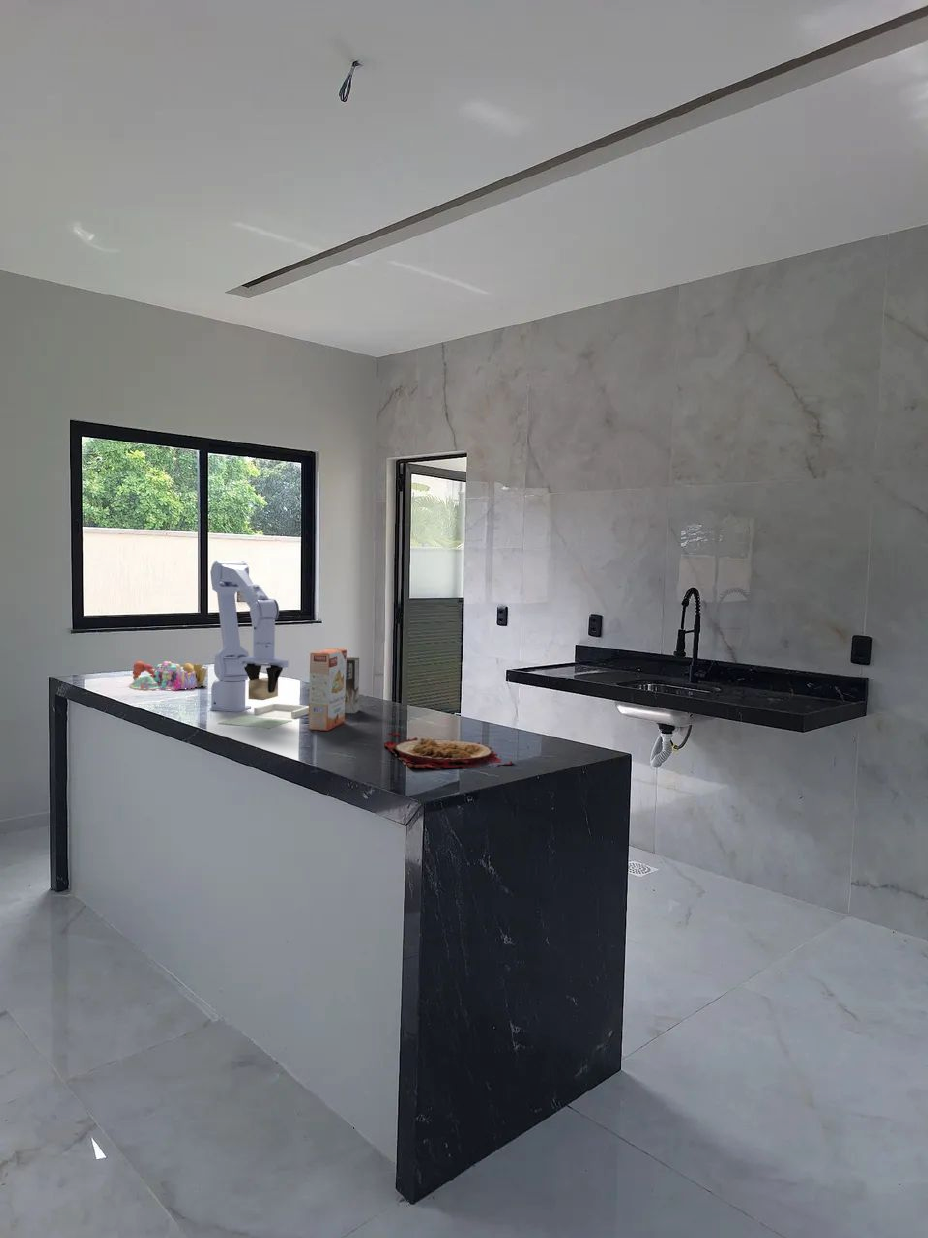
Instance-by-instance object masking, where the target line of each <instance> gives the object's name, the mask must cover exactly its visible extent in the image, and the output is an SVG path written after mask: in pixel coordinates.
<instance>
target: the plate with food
mask: <svg viewBox="0 0 928 1238" xmlns="http://www.w3.org/2000/svg"><path fill="white" fill-rule="evenodd" d="M387 736H393V737H395V739H396V740H397V739H398V737H400V738H399V739H400V740H401V739H402V738H401V737H403V734H398V733H392V732H391V733H389V732H388V733H387ZM403 740H405V741H401V742H398V743H396V742H395V741H394V740H392V741H391V740H390V741H388V740H387V741H386V742H385V741H383V740H382V744H383V745H384V748H387V752H390V753H393V754H394V756H395V757H398V755H397V753H396V752H398V753H399V757H398V760H399V761H401V762H402V763H403V765H405V766H408V767H409V768H416V769H421V770H424V769H425V770H426V769H429V768H432V769H434V770H440V769H441V770H442V768H444V769H445V768H446V769H447V768H449V769H453V768H462V769H466V767H467V768H477V766H480V765H485V764H486V765H487V764H491V763H492V764H493V765H488V767H489V768H490V767H494V764H497V763H498V764H497V765H496V767H498V766H500V764H499V763H502V761H501V759H500V758H502V755H499V757H500V758H498V757H497V756H498V753H495V752H494V750H492V749H493V748H492V747H490V746H487V745H485V744H481V743H480V742H472V741H467V740H466V741H463V740H458V739H457V740H456V739H455V740H454V739H441V738H439V739H437V738H434V739H432V738H430V737H426V738H423V737H421V739H418V737H417V736H415V737H413V738H404V739H403ZM413 764H414V765H413ZM514 764H515V762H514V763H513V761H511V760H510V761H509V763H508V764H507V763H505V766H510V765H514ZM501 766H504V764H503V763H502V764H501Z"/></svg>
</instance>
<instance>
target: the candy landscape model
mask: <svg viewBox="0 0 928 1238" xmlns="http://www.w3.org/2000/svg"><path fill="white" fill-rule="evenodd" d="M144 672H146V673H148V675H144V676H141V674H142V673H144ZM132 674H133V677H132V680H133V681H132V682H131V683H130V684H129V688H130V689H133V688H134V689H133V690H136V689H140V690H139V691H148V690H152V691H157V690H156V689H171V690H173V691H179V690H178V689H185V688H186V689H185V690H189V688H190V689H191V688H192V689H196V688H195V687H197V688H202V687H201V686H203V687H205V685H206V684H205V683H203V682H204V681H205V678H206V675H207V669H206V668H203V664H202V663H190V662H184V663H183V665H182V669H181V665H180V664H178V663H173V662H172V661H170V660H168V661H167V660H165V661H163V662H162V663H158V664H157V665H156V667H155V669H153V666H152V665H151V664H149V663H145V662H144V661H142V660H138V661H136V662H134V664H133V670H132ZM187 688H188V689H187ZM192 689H191V690H192ZM171 690H170V691H171Z"/></svg>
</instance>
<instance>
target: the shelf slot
mask: <svg viewBox="0 0 928 1238" xmlns="http://www.w3.org/2000/svg"><path fill="white" fill-rule="evenodd" d="M306 715H309V705H299V704H289V703H288V704H286V703H275V702H271V703H268V704H265V705H264V704H263V705H261V706H257V707H254V708H253V716H262V717H269V718H270V717H271V718H272V717H273V718H282V719H283V718H285V719H292V720H293V719H297V718H300V717H304V716H306Z"/></svg>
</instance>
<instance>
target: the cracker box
mask: <svg viewBox="0 0 928 1238" xmlns="http://www.w3.org/2000/svg"><path fill="white" fill-rule="evenodd" d="M309 655H310V657H309V658H310V660H309V661H310V662H309V689H308V690H309V691H308V692H309V693H308V694H309V695H308V697H309V698H308V706H309V714H308V722H307V723H308V727H307V729H308V731H319V732H328V731H330V730H333V729H334V728H337V727H338V726H340V725H342V724H345V720H346V719H345V718H346V713H345V693H346V663H347V657H348V656H347V655H348V649H345V648H324V649H321V650H316V651H312V652H310V654H309Z"/></svg>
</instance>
